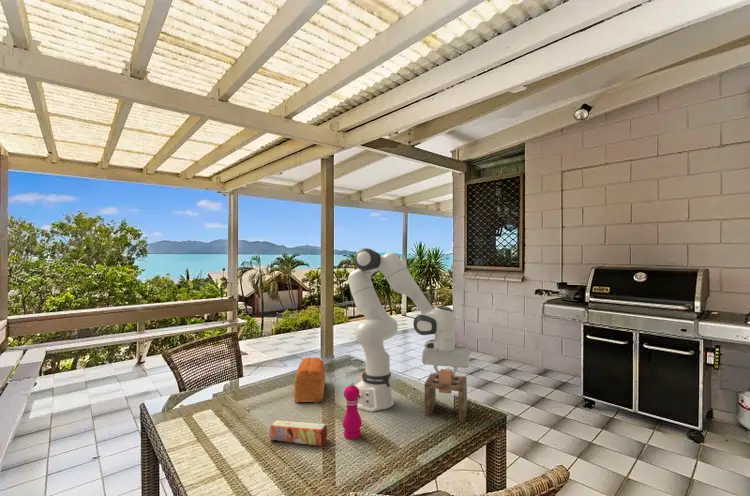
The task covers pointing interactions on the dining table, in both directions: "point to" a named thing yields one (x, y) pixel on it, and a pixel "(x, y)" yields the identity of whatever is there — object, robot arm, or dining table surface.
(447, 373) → the tall peach block
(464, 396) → the stand
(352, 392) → the pepper mill
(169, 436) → the dining table surface
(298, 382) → the bread
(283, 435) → the snack package
